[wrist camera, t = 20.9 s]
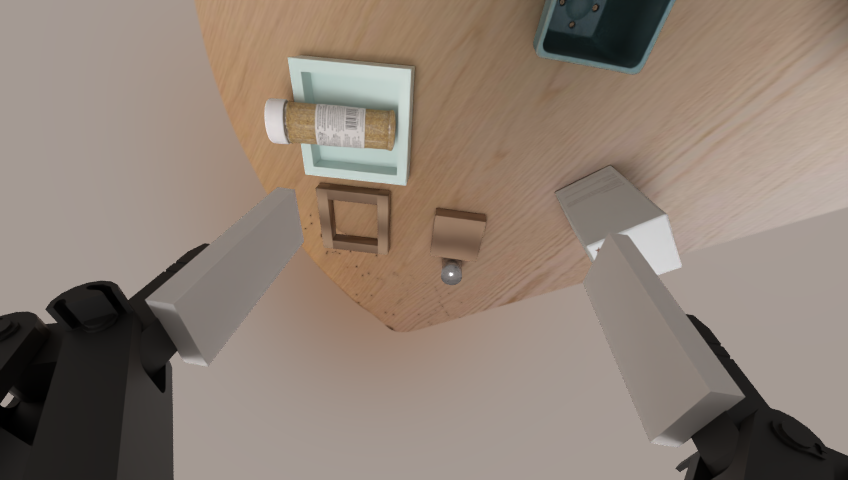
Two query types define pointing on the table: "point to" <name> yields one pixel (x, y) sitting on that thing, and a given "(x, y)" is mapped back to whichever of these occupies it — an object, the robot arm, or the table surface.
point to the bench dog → (451, 271)
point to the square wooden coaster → (457, 234)
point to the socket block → (357, 195)
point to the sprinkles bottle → (329, 125)
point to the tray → (363, 90)
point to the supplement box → (618, 217)
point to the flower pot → (601, 32)
